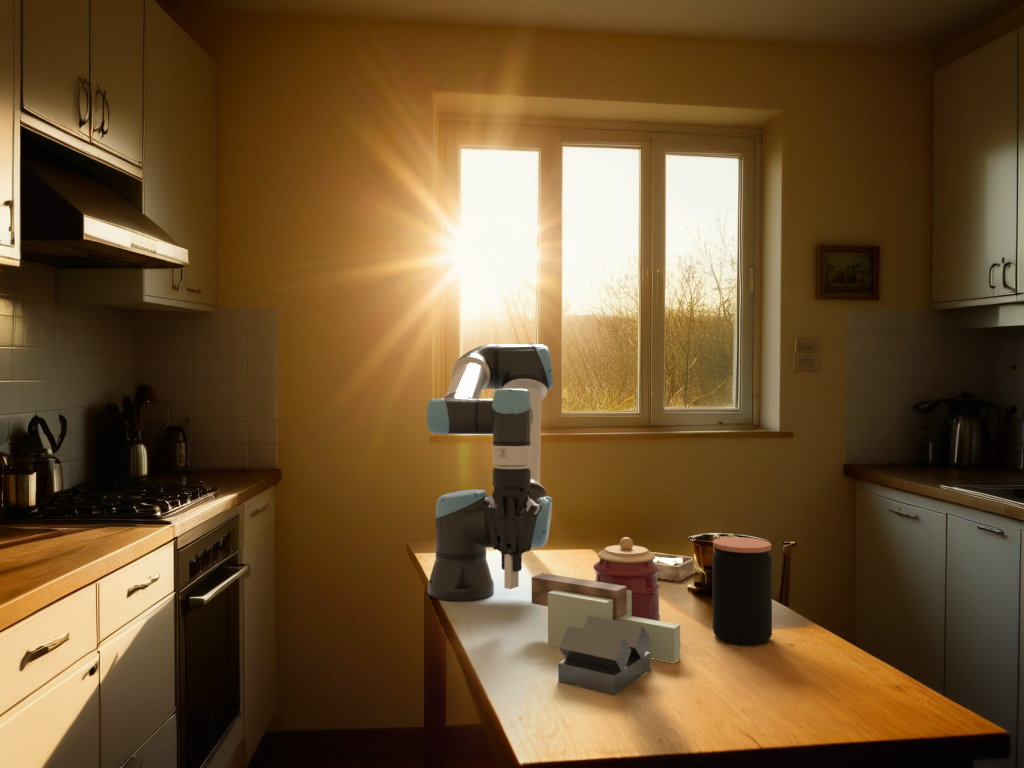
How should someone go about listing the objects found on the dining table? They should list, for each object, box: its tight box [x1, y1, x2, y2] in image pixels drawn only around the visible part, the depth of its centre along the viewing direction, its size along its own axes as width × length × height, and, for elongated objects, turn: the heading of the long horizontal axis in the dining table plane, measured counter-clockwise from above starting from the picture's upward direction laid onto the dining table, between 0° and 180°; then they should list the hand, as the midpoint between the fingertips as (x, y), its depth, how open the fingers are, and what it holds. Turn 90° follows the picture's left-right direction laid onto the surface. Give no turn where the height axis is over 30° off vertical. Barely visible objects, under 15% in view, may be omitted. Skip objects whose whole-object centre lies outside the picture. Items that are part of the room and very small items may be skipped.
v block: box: [557, 616, 651, 696], centre depth 127 cm, size 10×13×8 cm
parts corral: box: [650, 551, 693, 581], centre depth 200 cm, size 14×13×4 cm
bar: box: [531, 572, 627, 619], centre depth 145 cm, size 18×4×5 cm, turn 55°
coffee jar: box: [712, 536, 773, 647], centre depth 147 cm, size 11×11×18 cm
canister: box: [592, 536, 661, 621], centre depth 154 cm, size 13×13×18 cm
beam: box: [547, 590, 681, 664], centre depth 140 cm, size 23×10×10 cm, turn 55°
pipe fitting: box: [653, 556, 683, 566], centre depth 200 cm, size 8×4×7 cm
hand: (511, 587), depth 153 cm, fingers closed
